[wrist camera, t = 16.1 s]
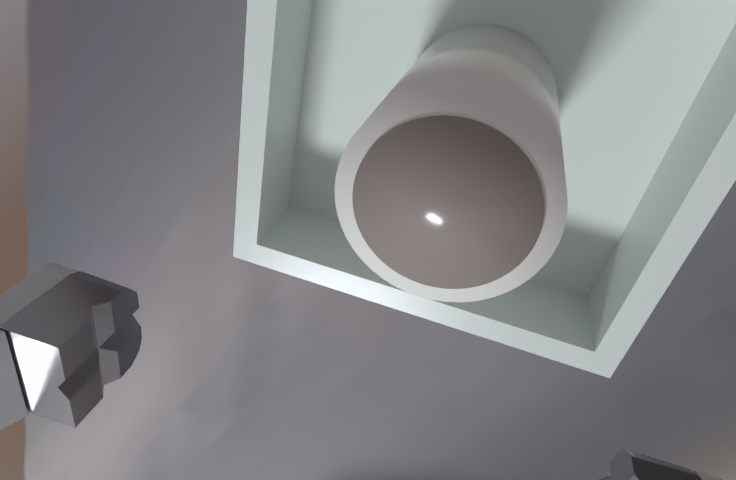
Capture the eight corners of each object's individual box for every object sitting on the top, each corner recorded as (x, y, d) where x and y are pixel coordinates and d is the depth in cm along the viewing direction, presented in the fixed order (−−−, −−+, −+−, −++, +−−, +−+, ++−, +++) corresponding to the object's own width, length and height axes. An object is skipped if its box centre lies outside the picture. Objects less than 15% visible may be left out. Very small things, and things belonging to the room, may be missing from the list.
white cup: (582, 45, 19) (610, 133, 11) (526, 186, 22) (519, 331, 14) (425, 6, 19) (353, 65, 12) (393, 148, 22) (319, 266, 15)
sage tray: (830, -95, 16) (911, -97, 12) (599, 313, 24) (609, 378, 21) (313, -202, 18) (260, -229, 14) (272, 212, 26) (233, 256, 23)
